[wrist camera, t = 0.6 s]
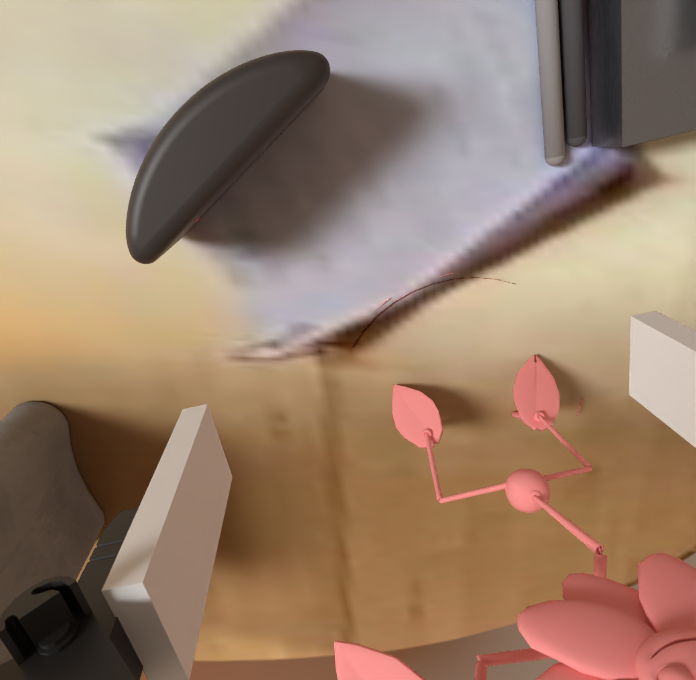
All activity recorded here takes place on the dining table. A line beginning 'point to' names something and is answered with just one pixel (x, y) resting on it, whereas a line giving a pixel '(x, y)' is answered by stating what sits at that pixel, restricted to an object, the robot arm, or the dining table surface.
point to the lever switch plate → (641, 70)
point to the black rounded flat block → (216, 144)
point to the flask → (41, 503)
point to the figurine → (578, 589)
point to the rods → (552, 75)
